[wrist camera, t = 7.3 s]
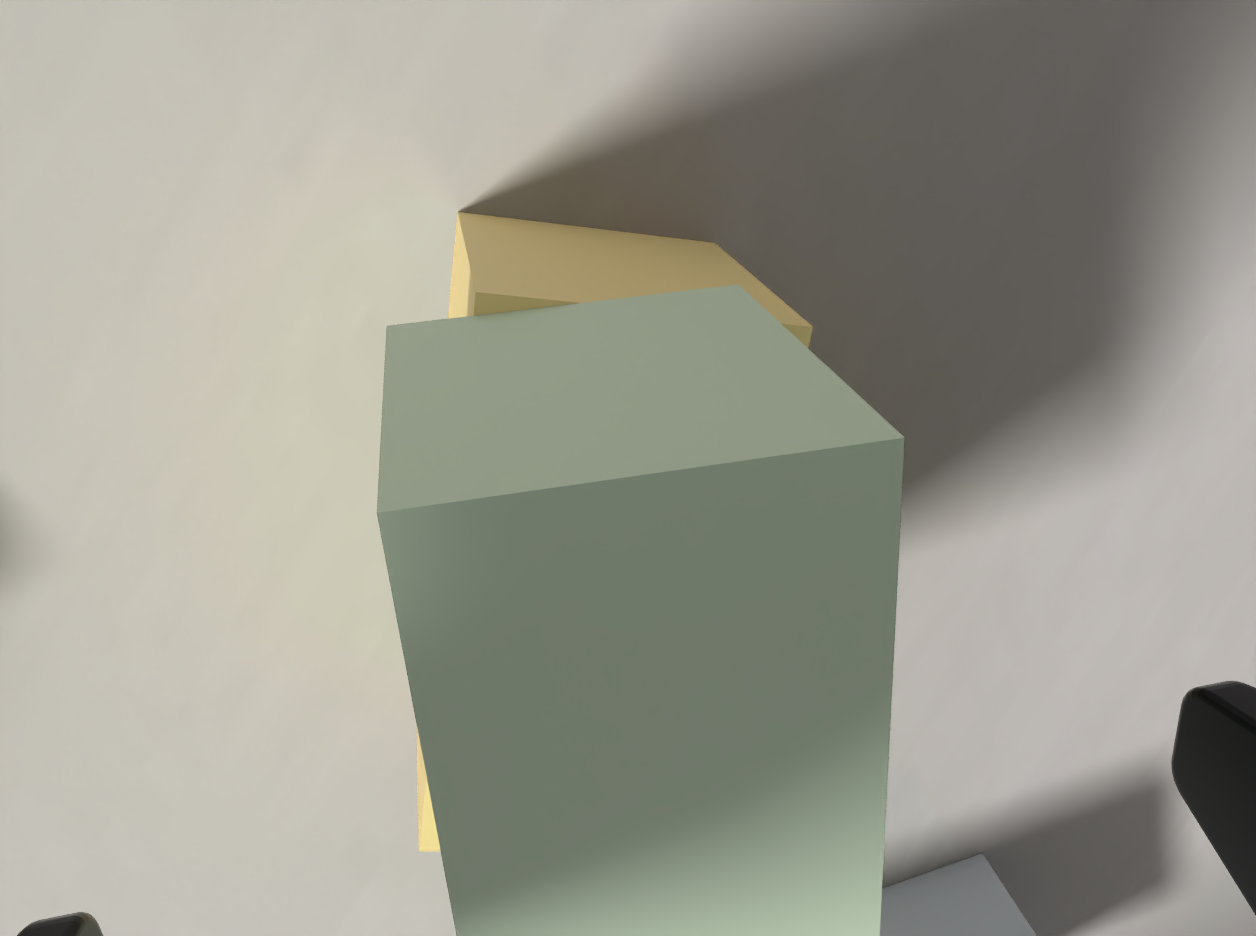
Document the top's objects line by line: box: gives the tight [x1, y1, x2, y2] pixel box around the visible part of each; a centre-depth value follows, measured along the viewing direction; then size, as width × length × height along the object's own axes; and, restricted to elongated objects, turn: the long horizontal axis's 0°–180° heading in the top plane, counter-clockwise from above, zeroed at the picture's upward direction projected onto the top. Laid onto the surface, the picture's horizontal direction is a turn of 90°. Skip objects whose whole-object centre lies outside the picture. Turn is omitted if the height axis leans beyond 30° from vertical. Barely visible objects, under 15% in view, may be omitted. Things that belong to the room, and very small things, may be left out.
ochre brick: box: [417, 212, 813, 851], centre depth 14 cm, size 7×4×4 cm, turn 171°
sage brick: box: [377, 284, 905, 936], centre depth 10 cm, size 7×4×4 cm, turn 4°
